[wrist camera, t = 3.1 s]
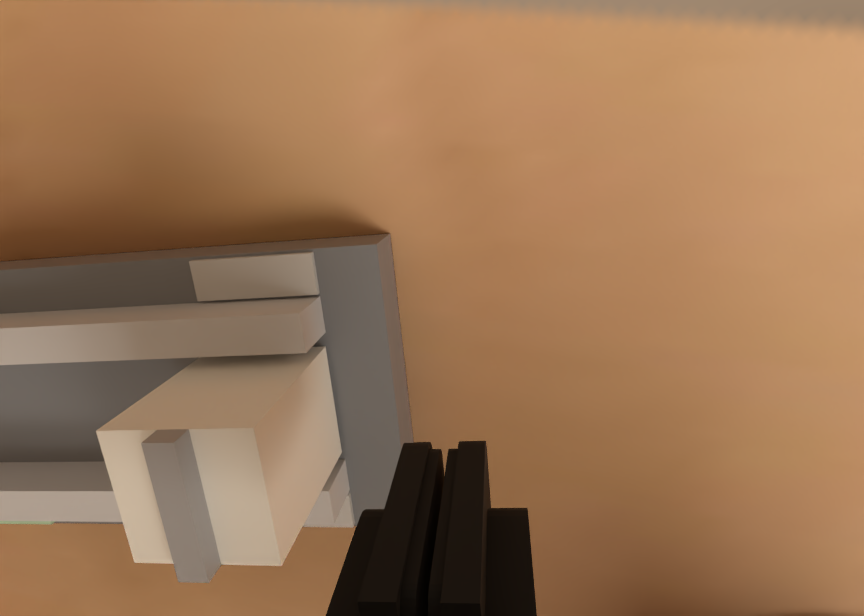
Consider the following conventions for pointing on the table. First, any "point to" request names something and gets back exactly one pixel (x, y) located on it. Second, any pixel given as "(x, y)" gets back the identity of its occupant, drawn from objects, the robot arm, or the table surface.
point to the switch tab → (224, 461)
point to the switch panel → (191, 359)
